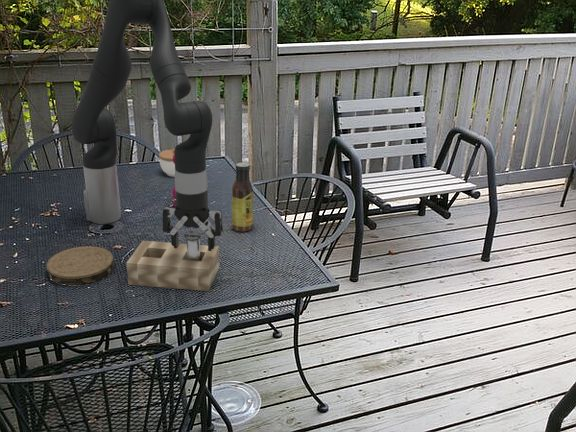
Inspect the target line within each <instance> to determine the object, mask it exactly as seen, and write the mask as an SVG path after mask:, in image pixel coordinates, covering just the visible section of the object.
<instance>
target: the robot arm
mask: <svg viewBox="0 0 576 432" xmlns="http://www.w3.org/2000/svg"><path fill="white" fill-rule="evenodd" d="M130 24H132V25H148V26H149V28H150V29H151V31H152V34H153V46H152V50H151V53H150V58H149V59H150V60H149V62H150V66H149V67H150V71H151V74H152V76H153V80H154V81H155V84H156V86H157V88H158V91H159V92H160V98H161V104H162V108H163V109H162V110H163V120H164V121H163V122H164V126H165V128H166V129H167V131H168V132H169V133H170V134H172V135H173V136H176V137H177V136H178V137H181V136H187V135H189V136H188V138H187V139H186V140H184V141H182V142H180V143H178V144H177V145H175V147H174V149H175V150H174V157H175V177H174V185H175V198H176V199H175V198H174V199H175V200H176V207H175V208H173V207H171V206H170V205H166V206H165V207H164V209H163V210H162V231H163V232H164V233H169V234H170V240H171V241H170V243H171V244H172V246H174V248H178V246H179V243H180V237H179V230H180V229H181V228H182V226H183V227H185V228H194V229H199V228H200V229H201V230H202V231H203V232H204V233H205V234H206V235H207V236H208V237H207V246H208V251H212V249H214V247H215V246H216V237H220V236H222V233H223V231H224V227H223V216H222V215H223V213H222V210H221V209H217V210H216V211H215V210H210V209H209V197H208V196H209V194H208V175H207V169H206V168H207V165H206V160H207V159H206V158H207V157H206V151H207V147H208V144H209V143H208V142H209V138H210V134H211V131H212V125H213V113H212V110H211V108H210V106H209V104H207V103H206V102H205V101H203V100H195V101H194V100H193V101H185V102H179V101H180V100H182V99H185V98H186V97H187V96H188V95H189V94H190V92H191V90H192V86H191V83H190V82H191V81H190V80H189V77H188V75H187V73H186V71H185V68H184V66H183V64H182V62H181V59H180V57H179V55H178V51H177V49H176V45H175V40H174V36H173V32H172V28H171V24H170V20H169V17H168V13H167V9H166V5H165V1H164V0H109V1H108V4H107V10H106V15H105V20H104V26H103V30H102V34H101V37H100V41H99V44H98V46H97V47H98V48H97V51H96V53H95V56H94V59H93V62H92V65H91V69H90V73H89V76H88V79H87V82H86V86H85V88H84V91H83V95H82V96H81V98H80V100H79V103H78V105H77V107H76V109H75V112H74V113H73V117H72V119H71V133H72V136H73V138H74V140H75V141H76V142H78V143H79V144H80V145H81V144H82V145H92V144H94V145H93V146H92V147H91V148H90V149H89V150H88V151H86V152H85V153H84V154H83V155H82V160H81V161H82V168H83V175H84V181H85V182H84V183H85V189H84V190H83V192H82V193H83V199H84V208H85V209H84V210H85V217H86V221H87V222H88V221H89V222H91V223H94V224H98V225H105V224H112V223H114V222H117V221H119V220H120V219H122V209H121V199H120V189H119V187H120V186H119V181H118V180H119V179H118V167H117V156H118V144H117V142H118V141H117V138H118V137H117V125H116V120H115V117H114V115H113V113H112V112H111V110H109V109H108V108H107V106H108V105H110V103H112V102H113V101H114V100H115V99H116V98H117V97H118V96H119V95H120V94H121V92H123V90H124V89H125V87H126V85H127V83H128V79H129V77H130V75H131V71H132V67H133V64H132V63H133V62H132V58H131V55H130V53H129V50H128V48H127V45H126V43H125V39H124V38H125V32H126V29H127V27H128V25H130ZM173 215H175V217H176V218H177V220H178V221H177V222H176V224H174V226H173V225H171V218H172V217H173ZM209 217H210V218H211V220H213V221H214V227H215V228H214V227H213V225H212V223H211V222H210V221H209V219H208V218H209Z"/></svg>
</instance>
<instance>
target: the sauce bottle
mask: <svg viewBox="0 0 576 432" xmlns="http://www.w3.org/2000/svg"><path fill="white" fill-rule="evenodd" d="M250 170H251V164H250V163H248V162H237V163H235V171H236V176H235V181H234V182H233V183H232V188H231V193H232V194H231V225H232V226H231V227H232V229H233V230H234V231H236V232H242V233H244V232H248V231H251V230H252V228H253V224H254V189H253V185H252V182H251V179H250V178H251V177H250Z"/></svg>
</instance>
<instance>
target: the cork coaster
mask: <svg viewBox="0 0 576 432" xmlns="http://www.w3.org/2000/svg"><path fill="white" fill-rule="evenodd" d="M114 261H115V260H114V256H113V253H112V252H110V251H109V250H108V249H106V248H103V247H99V246H91V245H90V246H77V247H76V246H75V247H70V248H68V249H64V250H62V251H60V252H58V253H56V254H54V255H52V256H51V257H50V258H49V259H48V261H47V262H46V271H47V276H49V277H50V278H51V279H52V280H53V281H55V282H57V283H60V284H66V285H84V286H87V285H86V284H90V285H93V284H96V283H98V281H99V282H101V281H103V280H104V279H103V278H105V279H107V278H108V277H109V276H110V275H111V274H112V273H113V271H114V269H115V262H114ZM109 274H110V275H109ZM108 275H109V276H108ZM107 276H108V277H107ZM49 277H48V278H49ZM106 277H107V278H106ZM102 279H103V280H102ZM100 280H101V281H100ZM95 282H96V283H95ZM92 283H93V284H92Z"/></svg>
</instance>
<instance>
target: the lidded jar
mask: <svg viewBox="0 0 576 432" xmlns="http://www.w3.org/2000/svg"><path fill="white" fill-rule="evenodd" d="M174 150H175V148H172V149H165V150H162V151H160V152H159V153H158V158H159V164H160V165H159V166H160V168H161V170H162V171H163V173H165V174H166V176H168V177H172V178H175V164H174V163H173V155H174Z"/></svg>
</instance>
